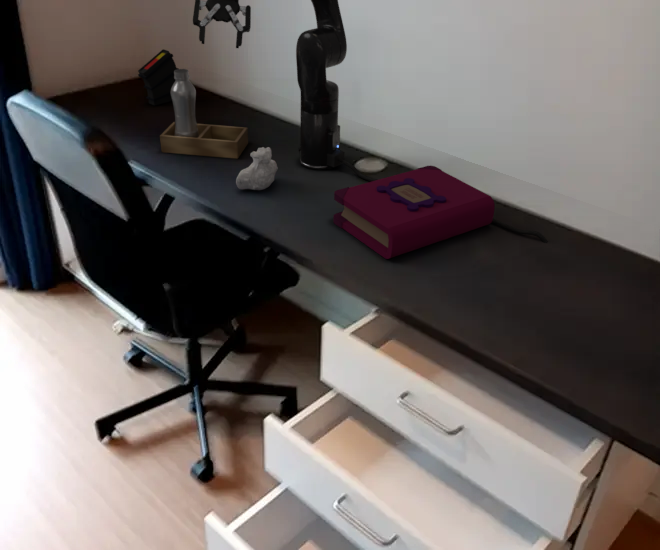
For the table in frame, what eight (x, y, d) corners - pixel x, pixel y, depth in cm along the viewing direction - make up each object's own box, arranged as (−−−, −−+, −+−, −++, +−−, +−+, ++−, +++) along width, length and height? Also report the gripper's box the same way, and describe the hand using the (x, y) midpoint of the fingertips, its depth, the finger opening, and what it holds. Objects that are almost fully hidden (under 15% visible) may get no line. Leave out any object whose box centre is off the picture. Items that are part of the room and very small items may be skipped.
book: (492, 227, 155) (497, 196, 151) (390, 263, 142) (392, 229, 138) (428, 191, 170) (431, 162, 166) (330, 220, 156) (331, 189, 152)
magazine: (191, 90, 224) (170, 50, 213) (162, 117, 219) (139, 78, 208) (184, 88, 226) (163, 48, 215) (154, 114, 222) (131, 75, 210)
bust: (241, 203, 167) (260, 177, 158) (223, 177, 168) (241, 150, 159) (278, 188, 175) (298, 162, 166) (260, 163, 176) (279, 136, 167)
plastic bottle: (170, 149, 188) (163, 73, 178) (182, 140, 194) (175, 66, 183) (193, 152, 187) (186, 76, 176) (204, 143, 192) (198, 68, 182)
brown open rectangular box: (248, 143, 193) (247, 127, 190) (237, 158, 184) (237, 142, 181) (175, 137, 195) (173, 121, 193) (161, 152, 186) (159, 135, 184)
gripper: (195, -30, 174) (191, 37, 175) (254, -22, 176) (249, 45, 177) (195, -20, 181) (191, 45, 182) (252, -12, 184) (247, 52, 185)
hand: (220, 45), depth 180 cm, fingers open, 8 cm apart
